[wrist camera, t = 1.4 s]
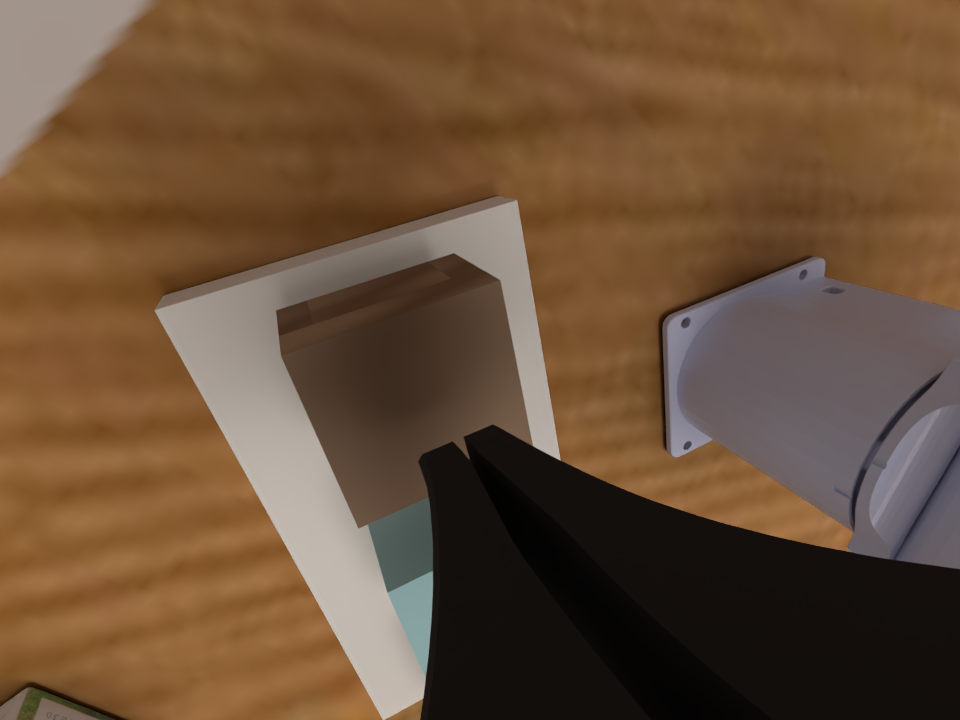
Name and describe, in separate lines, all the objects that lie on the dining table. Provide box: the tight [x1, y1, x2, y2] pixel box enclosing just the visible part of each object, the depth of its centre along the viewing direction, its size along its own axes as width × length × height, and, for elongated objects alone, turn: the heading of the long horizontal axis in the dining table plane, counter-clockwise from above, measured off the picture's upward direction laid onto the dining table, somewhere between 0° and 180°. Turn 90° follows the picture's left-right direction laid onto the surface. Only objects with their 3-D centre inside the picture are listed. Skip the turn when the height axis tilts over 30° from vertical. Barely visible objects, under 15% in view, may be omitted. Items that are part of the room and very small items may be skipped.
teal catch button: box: [368, 497, 433, 678], centre depth 17 cm, size 5×5×3 cm
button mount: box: [154, 196, 561, 720], centre depth 20 cm, size 11×21×4 cm, turn 10°
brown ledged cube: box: [276, 253, 533, 529], centre depth 13 cm, size 5×5×3 cm
